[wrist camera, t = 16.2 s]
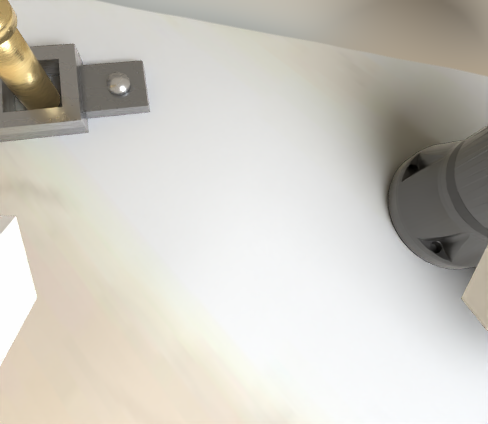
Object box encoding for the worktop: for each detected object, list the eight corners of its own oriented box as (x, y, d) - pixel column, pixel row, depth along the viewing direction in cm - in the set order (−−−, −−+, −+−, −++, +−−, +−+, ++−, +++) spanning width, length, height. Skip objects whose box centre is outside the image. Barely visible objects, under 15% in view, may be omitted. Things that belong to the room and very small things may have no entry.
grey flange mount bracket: (142, 55, 47) (137, 35, 44) (151, 125, 45) (147, 110, 42) (-72, 72, 44) (-95, 51, 40) (-72, 149, 42) (-97, 135, 38)
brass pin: (64, 78, 45) (7, -20, 32) (67, 117, 44) (9, 33, 31) (17, 82, 45) (-62, -17, 31) (19, 122, 44) (-62, 38, 30)
